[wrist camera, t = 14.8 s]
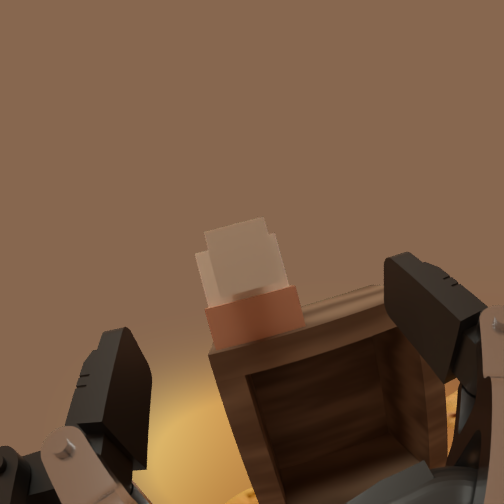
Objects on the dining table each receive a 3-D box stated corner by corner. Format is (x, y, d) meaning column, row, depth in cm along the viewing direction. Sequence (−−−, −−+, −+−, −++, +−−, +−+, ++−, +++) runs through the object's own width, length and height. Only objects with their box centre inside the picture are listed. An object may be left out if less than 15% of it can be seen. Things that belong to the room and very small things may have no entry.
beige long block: (330, 291, 13) (303, 193, 13) (182, 331, 12) (156, 231, 12) (275, 284, 32) (265, 245, 33) (217, 299, 32) (206, 260, 32)
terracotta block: (305, 326, 22) (295, 285, 23) (216, 350, 22) (204, 309, 22) (290, 315, 29) (282, 284, 30) (221, 334, 29) (212, 302, 29)
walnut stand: (441, 542, 20) (429, 286, 22) (300, 596, 19) (207, 355, 21) (403, 497, 32) (371, 284, 34) (287, 537, 31) (218, 329, 33)
